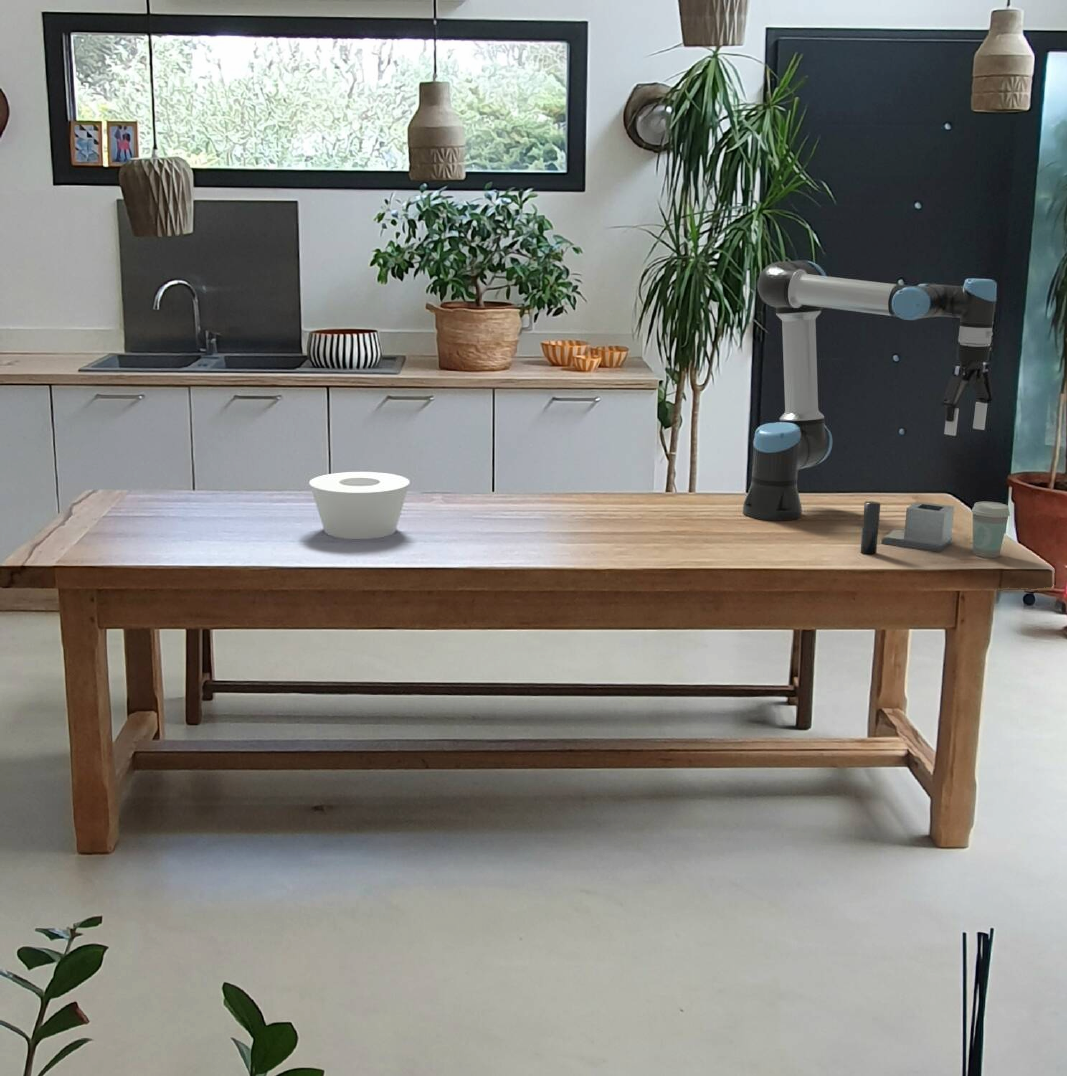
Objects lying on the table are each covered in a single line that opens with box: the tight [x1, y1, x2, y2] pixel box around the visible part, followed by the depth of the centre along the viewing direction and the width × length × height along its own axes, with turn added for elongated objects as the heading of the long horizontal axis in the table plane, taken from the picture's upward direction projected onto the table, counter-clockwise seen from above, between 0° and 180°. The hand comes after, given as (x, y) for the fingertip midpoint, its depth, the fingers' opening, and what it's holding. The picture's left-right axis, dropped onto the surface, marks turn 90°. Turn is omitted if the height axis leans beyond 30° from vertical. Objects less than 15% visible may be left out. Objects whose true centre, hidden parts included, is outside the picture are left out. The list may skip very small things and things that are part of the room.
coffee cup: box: [970, 501, 1011, 559], centre depth 315 cm, size 8×9×12 cm
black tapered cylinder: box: [860, 500, 881, 556], centre depth 314 cm, size 4×4×12 cm
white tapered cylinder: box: [308, 471, 411, 540], centre depth 325 cm, size 24×24×12 cm
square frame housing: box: [881, 501, 955, 553], centre depth 325 cm, size 14×11×9 cm
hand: (964, 432), depth 328 cm, fingers open, 13 cm apart
